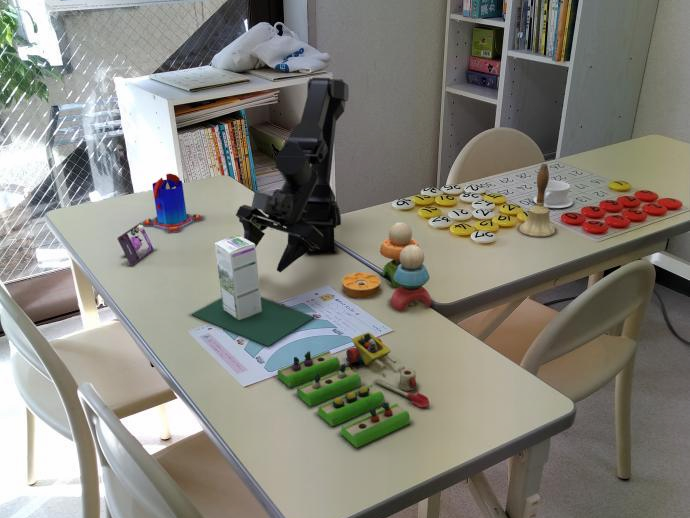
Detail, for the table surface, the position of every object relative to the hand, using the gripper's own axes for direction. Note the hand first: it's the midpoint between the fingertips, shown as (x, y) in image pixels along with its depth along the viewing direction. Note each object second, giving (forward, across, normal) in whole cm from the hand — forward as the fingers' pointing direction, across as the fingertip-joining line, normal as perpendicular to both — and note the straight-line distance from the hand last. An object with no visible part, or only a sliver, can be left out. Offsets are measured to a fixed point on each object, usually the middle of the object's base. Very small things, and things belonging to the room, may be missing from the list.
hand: (260, 265), depth 145 cm
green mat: (+10, +3, +1) cm, 10 cm away
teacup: (-53, +24, +65) cm, 88 cm away
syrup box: (+10, 0, +1) cm, 10 cm away
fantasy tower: (-7, -47, +18) cm, 51 cm away
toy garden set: (+15, +34, -4) cm, 38 cm away
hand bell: (-40, +28, +52) cm, 71 cm away
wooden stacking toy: (-7, +18, +18) cm, 27 cm away
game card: (+7, -38, +5) cm, 39 cm away
